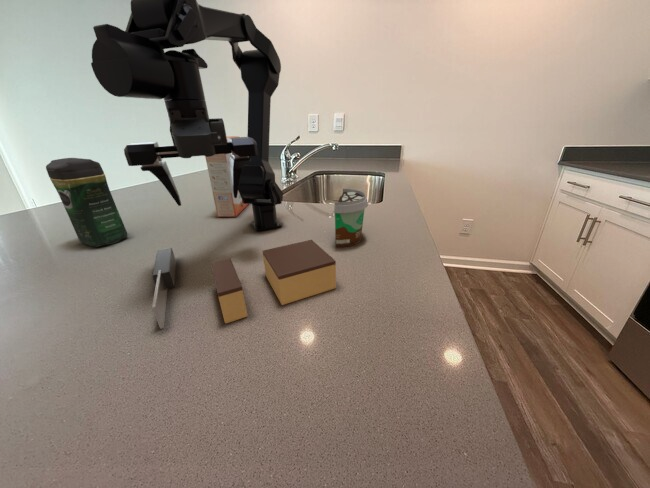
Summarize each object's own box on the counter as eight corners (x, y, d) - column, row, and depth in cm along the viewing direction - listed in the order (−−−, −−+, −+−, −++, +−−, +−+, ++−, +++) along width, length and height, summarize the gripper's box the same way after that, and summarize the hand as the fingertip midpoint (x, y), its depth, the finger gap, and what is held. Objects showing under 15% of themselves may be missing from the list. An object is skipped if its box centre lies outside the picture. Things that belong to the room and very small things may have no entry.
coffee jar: (135, 237, 62) (104, 156, 54) (96, 250, 56) (56, 161, 48) (113, 231, 66) (81, 155, 58) (75, 243, 60) (34, 159, 52)
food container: (364, 251, 52) (366, 204, 48) (334, 249, 53) (334, 203, 49) (367, 229, 63) (369, 188, 59) (342, 227, 64) (343, 187, 60)
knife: (162, 264, 50) (156, 247, 48) (176, 261, 50) (170, 244, 49) (151, 331, 33) (142, 309, 32) (172, 325, 34) (164, 303, 33)
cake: (265, 276, 45) (262, 250, 43) (312, 263, 48) (311, 239, 46) (281, 305, 37) (278, 276, 35) (336, 288, 41) (335, 260, 39)
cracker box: (237, 217, 73) (223, 138, 64) (216, 218, 73) (199, 138, 64) (251, 203, 86) (240, 135, 77) (233, 203, 86) (220, 136, 77)
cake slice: (216, 289, 42) (210, 262, 39) (235, 284, 43) (230, 257, 41) (225, 324, 34) (217, 293, 32) (247, 316, 35) (241, 286, 33)
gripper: (91, 97, 29) (140, 225, 36) (258, 97, 36) (271, 205, 43) (115, 102, 38) (150, 204, 45) (244, 102, 45) (257, 190, 52)
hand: (208, 201), depth 46 cm, fingers open, 9 cm apart
